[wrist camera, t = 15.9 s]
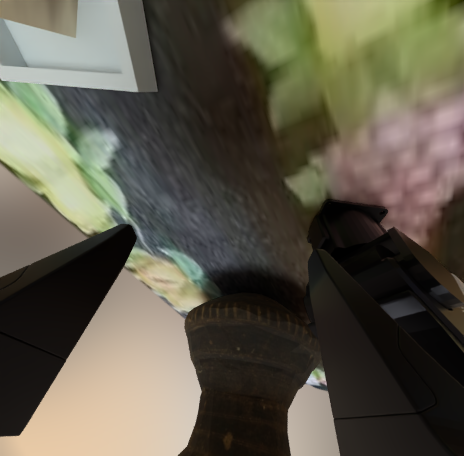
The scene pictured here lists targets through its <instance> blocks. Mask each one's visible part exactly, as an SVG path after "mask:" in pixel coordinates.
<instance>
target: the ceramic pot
mask: <svg viewBox="0 0 464 456" xmlns="http://www.w3.org/2000/svg"><path fill="white" fill-rule="evenodd" d="M185 332H186V335H187V338H188V344H189V350H190V356H191V360H192V362H193V364H194V367H195V369H196V374H197V377H198V381H199V384H200V387H201V390H202V393H201V396H200V403H199V410H198V415H197V420H196V424H195V426H194V429H193V432H192V435H191V437H190V440H189V443H188V445H187V447H186V448H185V449H184V450H183V451H182V452H181V453H180V454H179V455H178V456H291V454H290V447H289V440H288V433H287V422H288V421H287V420H288V419H287V418H288V416H287V414H288V409H289V407H290V405H291V403H292V401H293V399H294V396H295V395H296V393H297V391H298V390H299V389H300V388H302V387H303V385H304V384H305V383H306V381H307V380H308V378H309V376H310V374H311V372H312V371H314V369H315V368H316V367H317V365H318V364H319V362H320V359H321V350H320V345H319V341H318V339H317V338H316V337H315V335H314V334H313V333H312V331H311V330H310V329H309V327H308V325H307V324H306V323H305V322H304V321H302V320H301V319H300V318H299V317H297V316H296V315H295V314H294V313H292V312H291V311H289V310H288V309H287V308H285V307H284V306H282V305H281V304H280V303H278V302H277V301H275V300H273V299H271V298H269V297H266V296H264V295H261V294H256V293H245V292H242V293H236V294H230V295H226V296H222V297H219V298H216V299H213V300H210V301H208V302H206V303H203V304H201V305H199V306H197V307H195V308H194V309H192V310H191V311H190V312H189V313H188V315H187V317H186V319H185Z"/></svg>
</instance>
